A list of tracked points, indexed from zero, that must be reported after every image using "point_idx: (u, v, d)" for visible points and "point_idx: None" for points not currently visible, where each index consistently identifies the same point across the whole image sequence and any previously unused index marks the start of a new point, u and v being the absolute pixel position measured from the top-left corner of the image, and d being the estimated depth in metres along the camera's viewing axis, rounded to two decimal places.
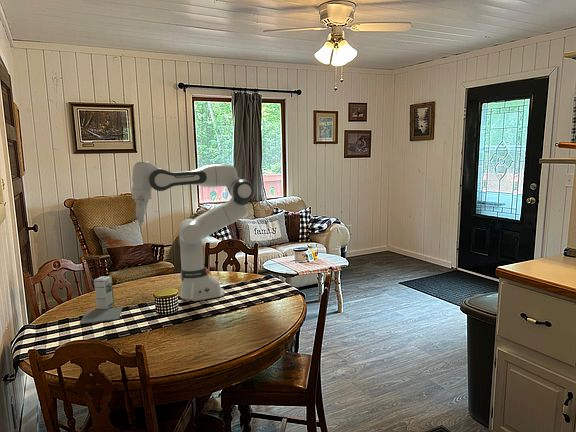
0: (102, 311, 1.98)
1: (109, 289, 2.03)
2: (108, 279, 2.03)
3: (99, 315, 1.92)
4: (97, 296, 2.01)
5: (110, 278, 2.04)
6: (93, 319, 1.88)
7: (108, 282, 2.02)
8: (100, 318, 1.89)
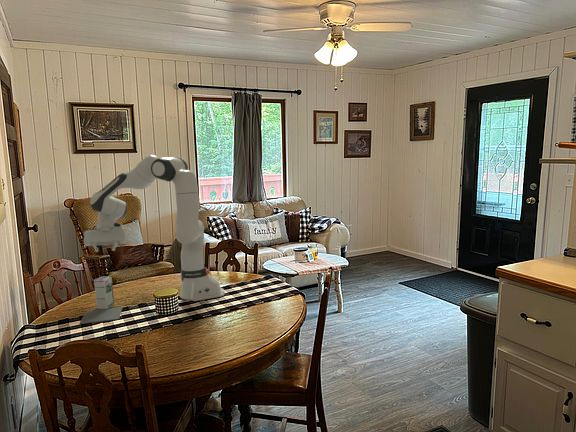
0: (102, 311, 1.98)
1: (109, 289, 2.03)
2: (108, 279, 2.03)
3: (99, 315, 1.92)
4: (97, 296, 2.01)
5: (110, 278, 2.04)
6: (93, 319, 1.88)
7: (108, 282, 2.02)
8: (100, 318, 1.89)
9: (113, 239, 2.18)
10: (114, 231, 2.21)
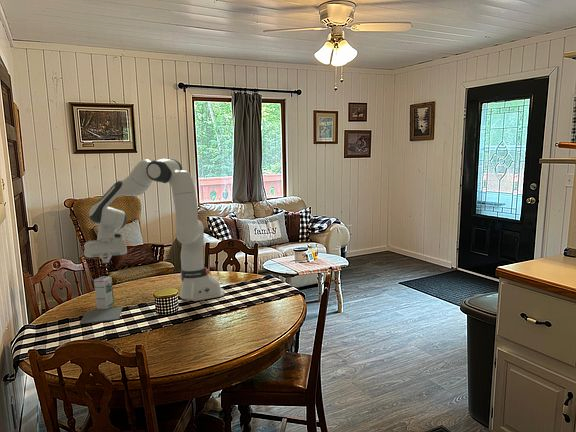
0: (102, 311, 1.98)
1: (109, 289, 2.03)
2: (108, 279, 2.03)
3: (99, 315, 1.92)
4: (97, 296, 2.01)
5: (110, 278, 2.04)
6: (93, 319, 1.88)
7: (108, 282, 2.02)
8: (100, 318, 1.89)
9: (114, 250, 2.17)
10: (115, 242, 2.20)
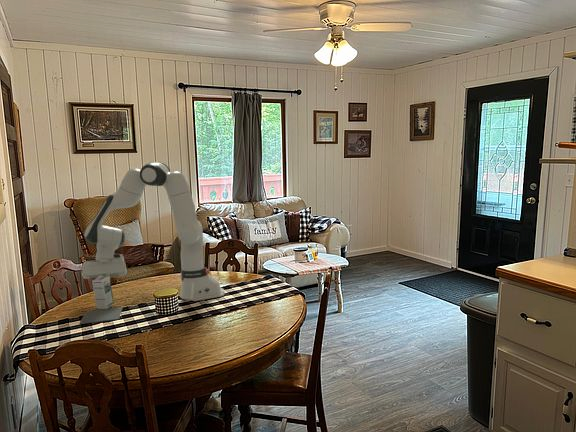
0: (102, 311, 1.98)
1: (108, 289, 2.02)
2: (106, 279, 2.01)
3: (99, 315, 1.92)
4: (96, 297, 2.01)
5: (108, 278, 2.02)
6: (93, 319, 1.88)
7: (106, 283, 2.01)
8: (100, 318, 1.89)
9: (112, 271, 2.09)
10: (114, 262, 2.12)
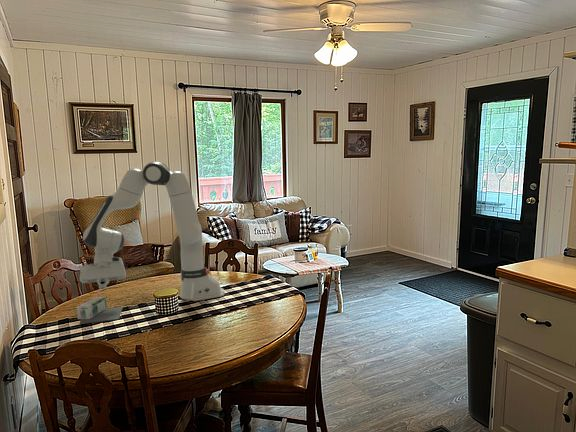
0: (102, 311, 1.98)
1: (95, 308, 1.93)
2: (88, 312, 1.88)
3: (99, 315, 1.92)
4: None
5: (88, 309, 1.88)
6: (93, 319, 1.88)
7: (91, 311, 1.89)
8: (100, 318, 1.89)
9: (111, 275, 2.03)
10: (112, 266, 2.05)
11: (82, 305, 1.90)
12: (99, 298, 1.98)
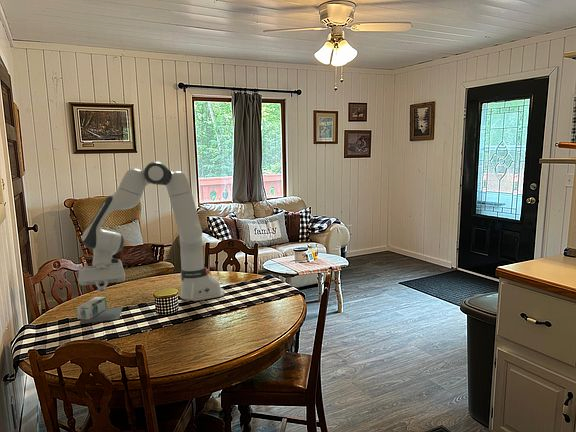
0: (102, 311, 1.98)
1: (96, 308, 1.93)
2: (89, 312, 1.88)
3: (99, 315, 1.92)
4: None
5: (88, 309, 1.88)
6: (93, 319, 1.88)
7: (91, 312, 1.89)
8: (100, 318, 1.89)
9: (110, 277, 1.99)
10: (111, 268, 2.02)
11: (82, 305, 1.89)
12: (99, 298, 1.98)
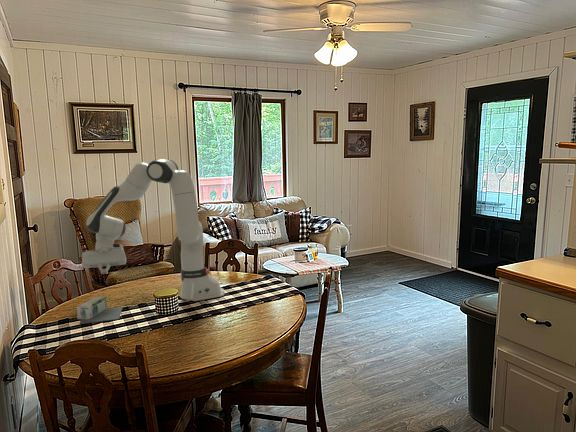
0: (102, 311, 1.98)
1: (96, 308, 1.93)
2: (89, 312, 1.88)
3: (99, 315, 1.92)
4: None
5: (88, 309, 1.88)
6: (93, 319, 1.88)
7: (91, 312, 1.89)
8: (100, 318, 1.89)
9: (112, 260, 2.10)
10: (113, 252, 2.13)
11: (82, 305, 1.89)
12: (99, 298, 1.98)
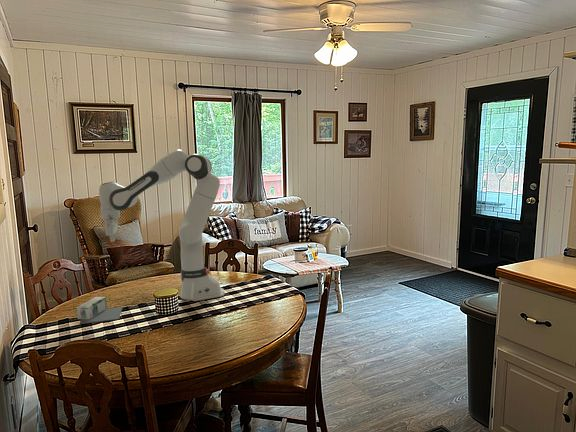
0: (102, 311, 1.98)
1: (96, 308, 1.93)
2: (89, 312, 1.88)
3: (99, 315, 1.92)
4: None
5: (88, 309, 1.88)
6: (93, 319, 1.88)
7: (91, 312, 1.89)
8: (100, 318, 1.89)
9: (116, 229, 2.19)
10: None
11: (82, 305, 1.89)
12: (99, 298, 1.98)
